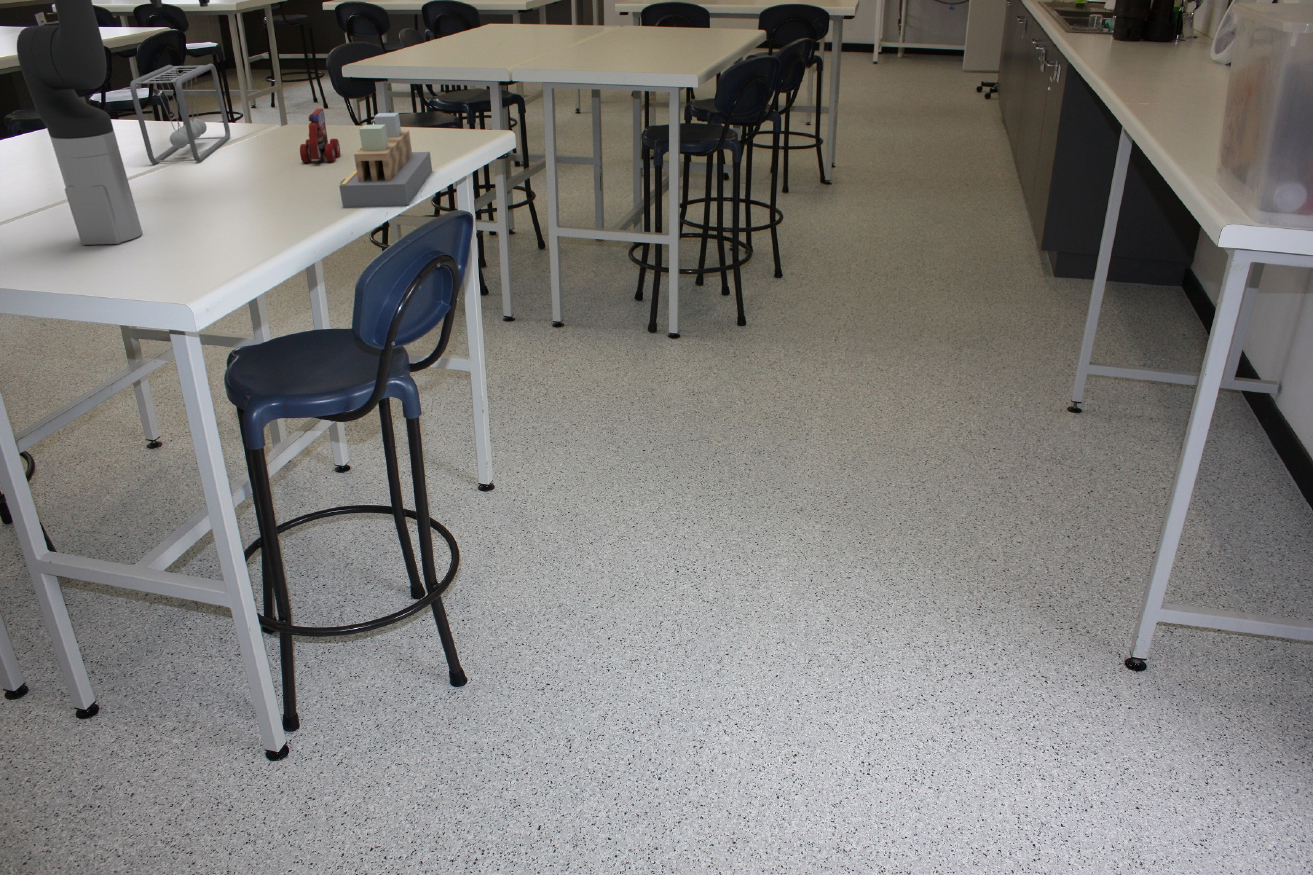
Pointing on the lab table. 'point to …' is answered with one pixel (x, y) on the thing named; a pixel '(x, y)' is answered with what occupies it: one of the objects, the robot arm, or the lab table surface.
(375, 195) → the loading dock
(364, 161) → the tan wooden bar
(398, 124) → the block
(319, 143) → the toy fire truck
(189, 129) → the newton's cradle
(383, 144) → the block
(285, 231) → the lab table surface
